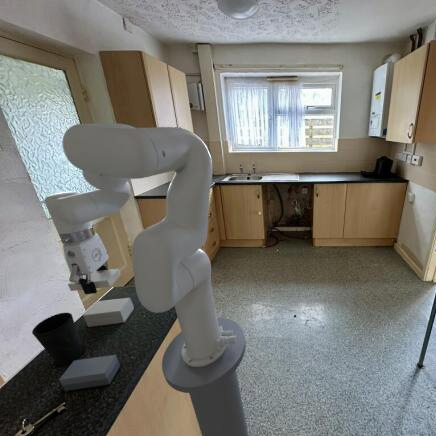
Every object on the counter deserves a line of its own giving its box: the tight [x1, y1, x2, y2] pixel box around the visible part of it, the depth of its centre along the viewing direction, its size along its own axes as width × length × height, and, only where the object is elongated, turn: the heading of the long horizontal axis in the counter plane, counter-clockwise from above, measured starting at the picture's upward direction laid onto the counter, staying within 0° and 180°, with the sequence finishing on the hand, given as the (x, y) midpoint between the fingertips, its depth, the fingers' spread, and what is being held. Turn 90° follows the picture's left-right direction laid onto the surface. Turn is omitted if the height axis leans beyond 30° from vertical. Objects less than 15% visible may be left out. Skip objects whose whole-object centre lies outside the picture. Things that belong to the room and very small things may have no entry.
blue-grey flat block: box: [58, 354, 119, 386], centre depth 59 cm, size 10×5×2 cm, turn 98°
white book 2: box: [85, 303, 135, 328], centre depth 79 cm, size 11×6×2 cm, turn 97°
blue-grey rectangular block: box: [61, 360, 121, 392], centre depth 60 cm, size 10×5×2 cm, turn 98°
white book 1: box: [82, 297, 133, 322], centre depth 78 cm, size 11×6×2 cm, turn 97°
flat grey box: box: [67, 268, 122, 292], centre depth 74 cm, size 11×6×2 cm, turn 98°
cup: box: [31, 312, 84, 366], centre depth 64 cm, size 8×8×12 cm
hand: (98, 285), depth 75 cm, fingers closed on flat grey box, 6 cm apart
